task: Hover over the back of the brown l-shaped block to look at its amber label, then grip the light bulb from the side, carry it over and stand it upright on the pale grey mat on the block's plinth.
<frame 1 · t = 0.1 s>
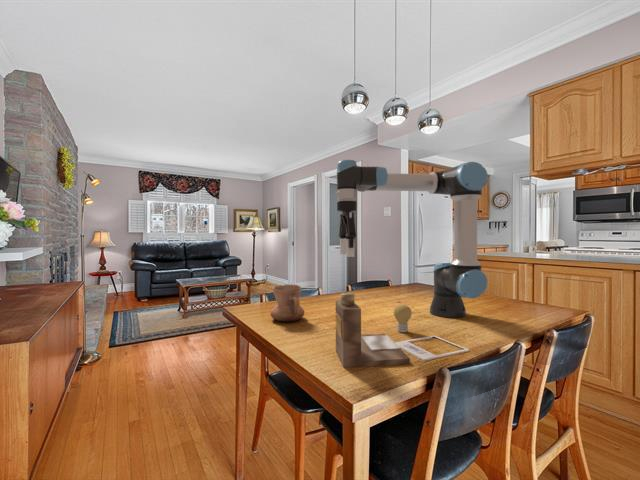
hand: (346, 255, 122), 28 cm above the table, tool pointing down, fingers open, 13 cm apart
ceramic jug: (288, 320, 134), on the table
photo frame: (429, 349, 100), on the table
brown l-shaped block: (374, 350, 98), on the table
light bulb: (402, 332, 117), on the table
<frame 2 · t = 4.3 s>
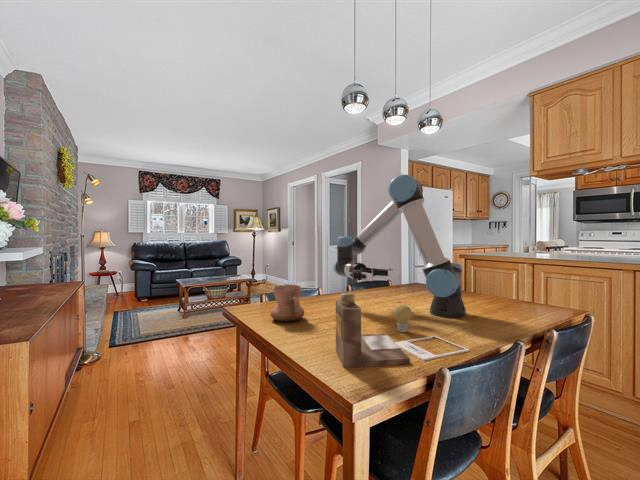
hand: (385, 276, 125), 19 cm above the table, tool horizontal, fingers open, 13 cm apart
nothing on the table moved.
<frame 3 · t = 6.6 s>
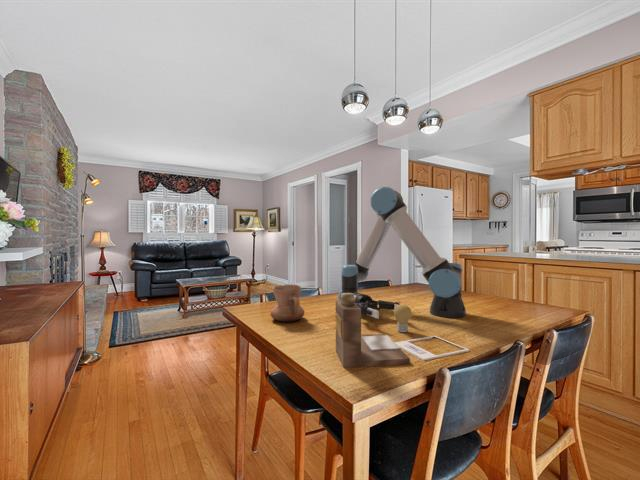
hand: (392, 312, 121), 6 cm above the table, tool horizontal, fingers open, 13 cm apart
nothing on the table moved.
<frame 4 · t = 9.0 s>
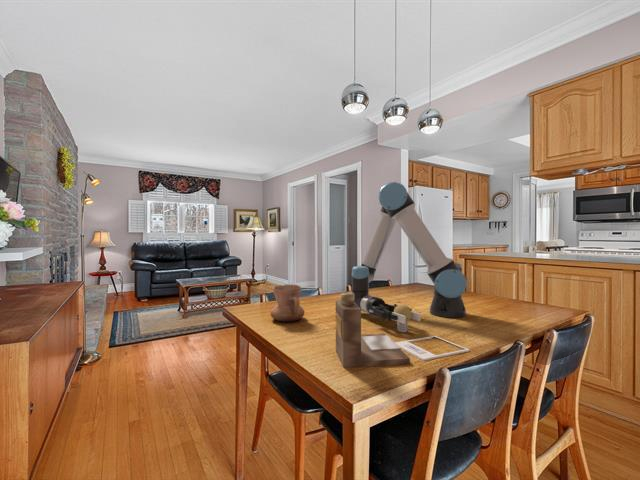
hand: (412, 318, 112), 6 cm above the table, tool horizontal, fingers closed on light bulb, 6 cm apart
light bulb: (402, 332, 117), on the table, touching gripper
everything else where it was.
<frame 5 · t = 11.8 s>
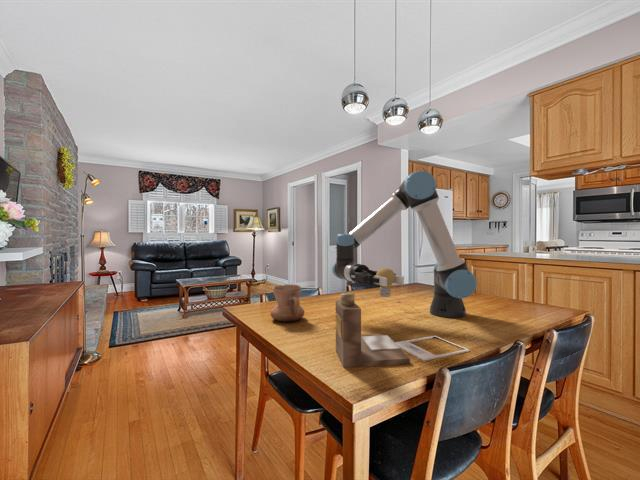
hand: (394, 281, 104), 21 cm above the table, tool horizontal, fingers closed on light bulb, 6 cm apart
light bulb: (385, 297, 109), point 14 cm above the table, touching gripper
everything else where it was.
when the fingers open (9 cm above the table, at t = 14.9 s): light bulb drops 1 cm, resting on brown l-shaped block.
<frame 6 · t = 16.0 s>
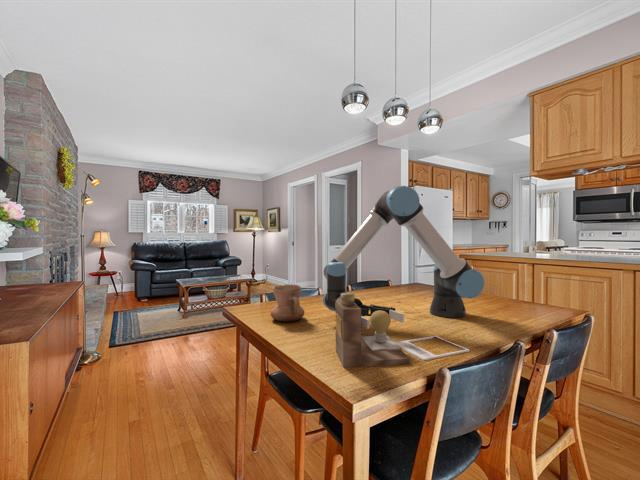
hand: (386, 321, 97), 9 cm above the table, tool horizontal, fingers open, 13 cm apart
light bulb: (380, 342, 100), point 2 cm above the table, touching brown l-shaped block
everything else where it was.
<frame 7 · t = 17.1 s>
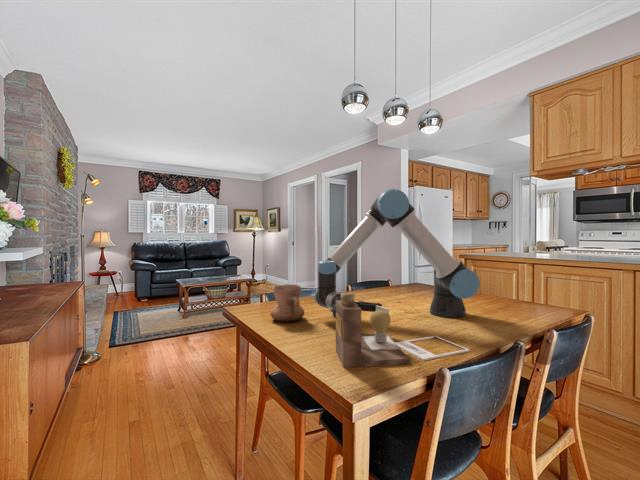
hand: (372, 315, 103), 9 cm above the table, tool horizontal, fingers open, 13 cm apart
nothing on the table moved.
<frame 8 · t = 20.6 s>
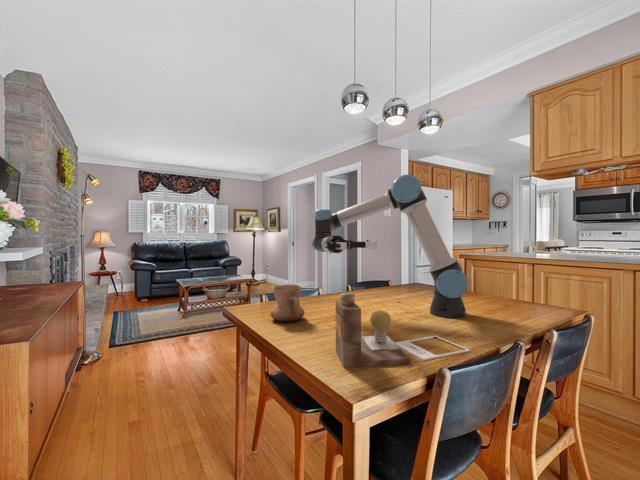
hand: (361, 245, 117), 32 cm above the table, tool horizontal, fingers open, 13 cm apart
nothing on the table moved.
at the end: light bulb inside the target area (0.4 cm from its centre), point 1.7 cm above the table; light bulb tilted 0°; the gripper is holding nothing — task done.
